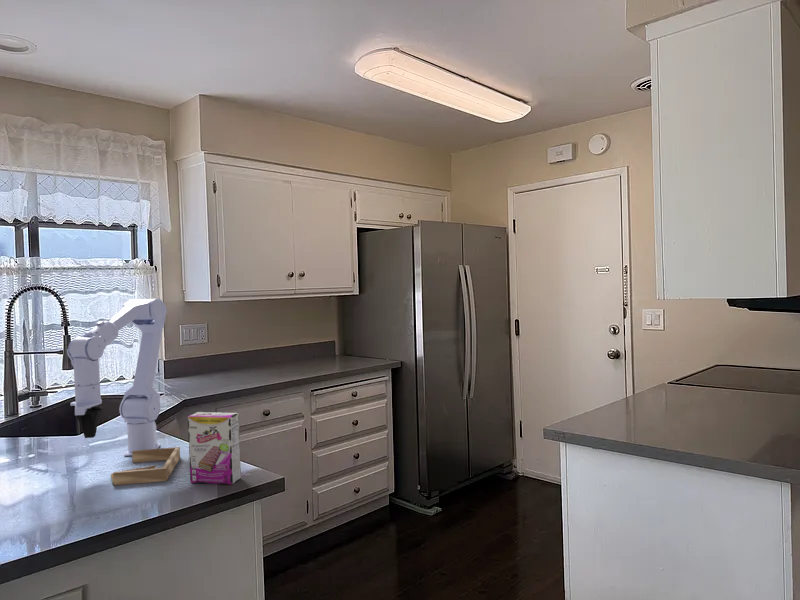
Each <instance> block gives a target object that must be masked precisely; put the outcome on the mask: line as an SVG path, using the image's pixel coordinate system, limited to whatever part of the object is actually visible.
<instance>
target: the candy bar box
mask: <svg viewBox="0 0 800 600" xmlns="http://www.w3.org/2000/svg"><path fill="white" fill-rule="evenodd" d="M239 415H240V413H239V412H219V411H217V412H215V411H214V412H213V411H211V412H210V411H196V412H194V413H191V414H190V415H188V416H187V427H188V428H187V429H188V431H187V433H188V448H189V449H188V451H189V452H188V456H189V457H188V458H189V480H190V481H189V482H190V483H191V484H211V485H212V484H213V485H234V484H235V483H236V482H237V481H239V480H240V479H241V478H242V471H241V469H242V468H241V444H240V442H241V441H240V419H239V418H240V417H239Z"/></svg>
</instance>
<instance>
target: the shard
mask: <svg viewBox="0 0 800 600" xmlns="http://www.w3.org/2000/svg"><path fill="white" fill-rule="evenodd" d="M154 468H157V465H150V466H145V467H138V468H137V467H136V468H132V469H125V470H123V471H130V470H142V469H154ZM113 473H114V472H112V473H111V474H110V478H111V481H112V484H114V478H113Z"/></svg>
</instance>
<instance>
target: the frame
mask: <svg viewBox="0 0 800 600" xmlns="http://www.w3.org/2000/svg"><path fill="white" fill-rule="evenodd" d="M180 449H181V448H180V446H175V447H163V448H160V447H159V448H158V449H148V450H135V451H133V452H132V454H133V455H132V463H143V462H144V463H147V462H158V461H165V462H164V465H163V467H155V468H154V469H142V470H130V469H129V470H130V471H124V470H121V471H120V470H119V471H113V472H112V473H113V478H114V483H113V486H123V485H134V484H144V483H145V484H146V483H155V482H156V483H157V482H167V480H168V479H169V478H170V476H171V474H172V472H173V471H174V469H175V467H176V465H177V464H178V462H179V461H180V459H181V450H180Z"/></svg>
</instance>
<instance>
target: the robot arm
mask: <svg viewBox="0 0 800 600" xmlns="http://www.w3.org/2000/svg"><path fill="white" fill-rule="evenodd" d="M167 310H168V309H167V307H166V305H165V303H164V301H163V300H162V299H160V298H143V299H142V298H141V299H140V298H139V299H136V298H130V299H128V300H127V301H126V302H124V303H123V305H122V308H121V309H120V310H119V311H118V312H117V313H116V314H115V315H114V316H113V317H112V318H110V320H103V321H101V320H99V321H97V322H96V323H95V324H96V326H94V327H93V328H92V329H90V330H87V331H86V332H85V333H84V334H83V336H82V337H75V338H73V339H72V340H71V341H70V342H69V344H68V346H67V349H66V354H67V356H68V358H69V359H70V362H71V364H70V365H72V367H73V379H74V380H73V381H74V383H73V384H74V395H75V396H74V398H75V401H71V402H69V403H70V407H72V406H74V416H75V418H76V419H77V420H78V422H79V424H80V427H81V429H82V433H83V437H84V438H85V439H92V438H95V437H96V435H97V429H98V423H99V419H100V417H101V414H102V412H103V410H104V408H103V406H99V405H101V404H102V403H103V400H102V397H101V396H102V395H101V378H100V377H101V376H100V358H101V359H102V357H103V354H104V352H105V350H106V347H108V345H110V344H111V343H112V342H114V341H115V340H116V339H117V338H118V336H119V331H120V330H122V329H123V328H125V327H126V326H128V325H129V324H130V323H131V324H133V326H134V327H135V328H136V329H139V330H140V331H141V334H142V335H141V338H140V339H141V340H140V345H139V351H138V356H137V362H136V367H135V368H136V369H135V372H134V378H133V384H132V386H131V387H130V388H128V389H127V390H126V391H125V392H124V395H123V398H122V400H121V402H120V404H119V409H118V410H119V411H118V412H119V414H120V417H121V418H123V420H124V423H126V430H127V434H126V435H127V449H128V450H126V451H125V453H124V454H123V457H126V456H128V457H131V456H133V454H132V452H133V451H135V450H148V449H159V448H160V446H161V443H160V442H159V443H158V441H157V435H158V434H157V423H156V421H155V420H157V418H158V417H159V415H160V412H161V402H160V401H161V395H160V393H159V392H158V391H157V390H156V389H155V388H154V384H155V383H154V382H155V378H156V372H157V365H158V360H159V353H160V348H161V342H162V336H163V329H164V328H165V323H166V322H165V321H166V316H167Z"/></svg>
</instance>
